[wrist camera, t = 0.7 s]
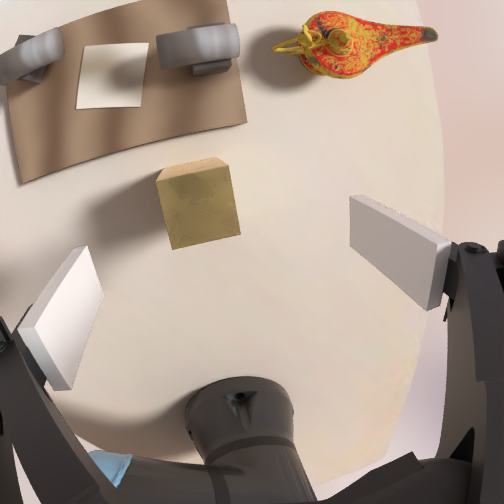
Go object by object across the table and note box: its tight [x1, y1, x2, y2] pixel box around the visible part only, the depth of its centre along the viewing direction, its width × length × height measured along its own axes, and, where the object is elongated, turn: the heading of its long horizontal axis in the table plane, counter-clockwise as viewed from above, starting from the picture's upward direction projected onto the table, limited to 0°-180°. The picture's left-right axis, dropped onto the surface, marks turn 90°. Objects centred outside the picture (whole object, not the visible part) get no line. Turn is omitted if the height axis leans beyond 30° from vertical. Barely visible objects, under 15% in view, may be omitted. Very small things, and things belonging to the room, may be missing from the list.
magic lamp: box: [271, 11, 438, 79], centre depth 21 cm, size 7×18×11 cm, turn 108°
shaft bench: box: [0, 0, 247, 183], centre depth 20 cm, size 22×14×6 cm, turn 99°
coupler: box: [156, 157, 241, 250], centre depth 25 cm, size 5×5×8 cm
